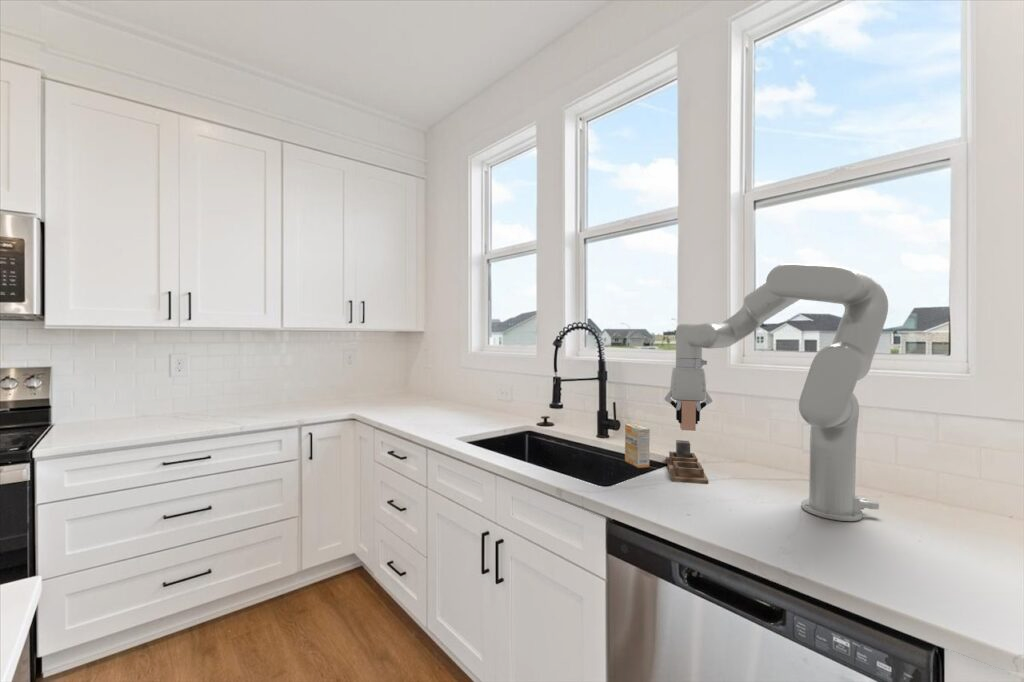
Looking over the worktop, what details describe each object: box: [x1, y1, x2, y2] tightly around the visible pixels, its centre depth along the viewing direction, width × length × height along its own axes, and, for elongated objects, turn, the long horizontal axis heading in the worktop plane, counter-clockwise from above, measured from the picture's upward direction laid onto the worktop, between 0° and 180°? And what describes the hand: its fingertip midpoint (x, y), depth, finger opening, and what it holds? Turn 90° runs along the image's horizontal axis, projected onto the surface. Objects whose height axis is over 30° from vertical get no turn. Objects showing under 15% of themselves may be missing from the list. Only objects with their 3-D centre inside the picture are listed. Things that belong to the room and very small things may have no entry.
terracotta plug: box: [679, 401, 697, 432], centre depth 145 cm, size 4×4×9 cm
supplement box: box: [624, 423, 651, 469], centre depth 158 cm, size 8×5×13 cm, turn 17°
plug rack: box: [665, 439, 709, 485], centre depth 151 cm, size 10×24×8 cm, turn 167°
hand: (687, 422), depth 145 cm, fingers closed on terracotta plug, 4 cm apart
